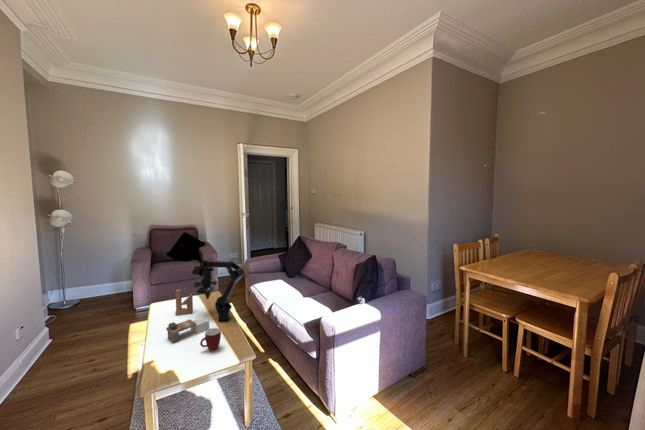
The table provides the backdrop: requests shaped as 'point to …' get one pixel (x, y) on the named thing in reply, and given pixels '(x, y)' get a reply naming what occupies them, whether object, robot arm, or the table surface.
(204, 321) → the gray rectangular block
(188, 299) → the wooden block
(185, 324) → the plank
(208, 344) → the mug
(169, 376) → the table surface
